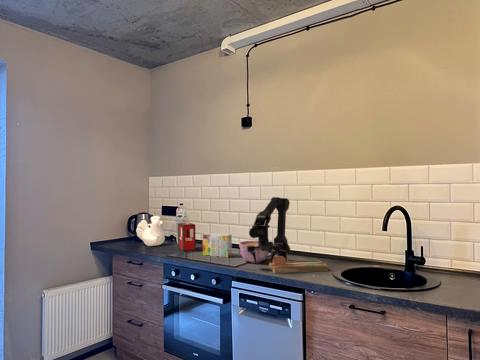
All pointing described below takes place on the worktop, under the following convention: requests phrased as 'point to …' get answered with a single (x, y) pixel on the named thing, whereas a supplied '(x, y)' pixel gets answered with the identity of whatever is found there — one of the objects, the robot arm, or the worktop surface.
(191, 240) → the cleaning product box
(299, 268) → the box
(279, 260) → the block
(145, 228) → the decorative rooster
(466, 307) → the worktop surface
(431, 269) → the worktop surface
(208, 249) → the snack box
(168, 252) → the worktop surface
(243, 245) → the bowl of food
